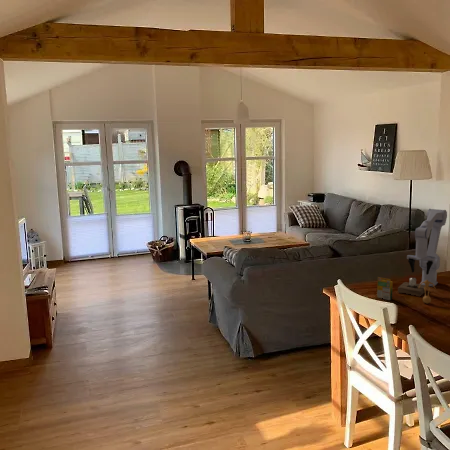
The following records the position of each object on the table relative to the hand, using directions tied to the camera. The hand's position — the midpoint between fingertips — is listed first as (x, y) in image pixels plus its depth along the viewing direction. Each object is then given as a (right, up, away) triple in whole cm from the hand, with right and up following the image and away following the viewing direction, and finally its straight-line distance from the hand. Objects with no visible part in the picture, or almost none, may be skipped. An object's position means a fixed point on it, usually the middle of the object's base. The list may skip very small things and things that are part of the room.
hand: (420, 273), depth 260 cm
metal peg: (-4, -10, +1) cm, 11 cm away
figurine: (-4, -14, -16) cm, 22 cm away
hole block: (-4, -10, +1) cm, 11 cm away
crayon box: (-23, -13, -8) cm, 27 cm away
